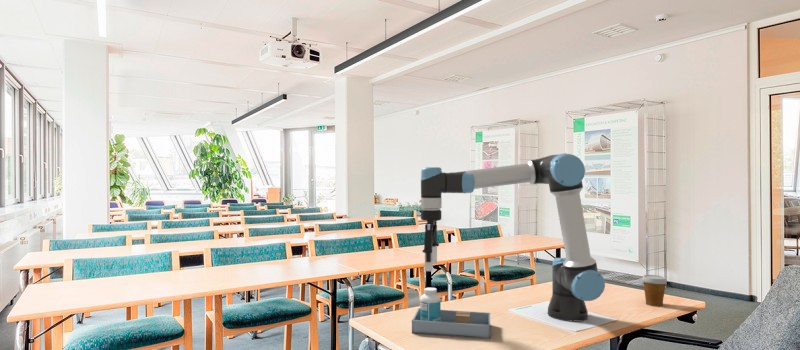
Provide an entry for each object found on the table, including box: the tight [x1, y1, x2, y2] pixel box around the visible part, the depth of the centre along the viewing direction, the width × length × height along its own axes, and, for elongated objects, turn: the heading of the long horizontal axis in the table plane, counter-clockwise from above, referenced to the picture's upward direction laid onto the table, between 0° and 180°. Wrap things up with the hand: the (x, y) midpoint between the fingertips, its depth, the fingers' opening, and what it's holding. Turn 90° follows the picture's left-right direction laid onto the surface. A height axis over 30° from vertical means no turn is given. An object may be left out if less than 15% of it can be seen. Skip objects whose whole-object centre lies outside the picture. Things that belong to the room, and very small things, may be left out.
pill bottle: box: [419, 287, 442, 322], centre depth 170 cm, size 8×7×14 cm
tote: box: [411, 307, 491, 340], centre depth 169 cm, size 27×15×4 cm, turn 79°
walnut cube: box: [456, 310, 471, 324], centre depth 168 cm, size 5×5×5 cm
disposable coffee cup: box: [641, 274, 668, 307], centre depth 203 cm, size 10×10×12 cm
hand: (431, 267), depth 170 cm, fingers open, 13 cm apart
